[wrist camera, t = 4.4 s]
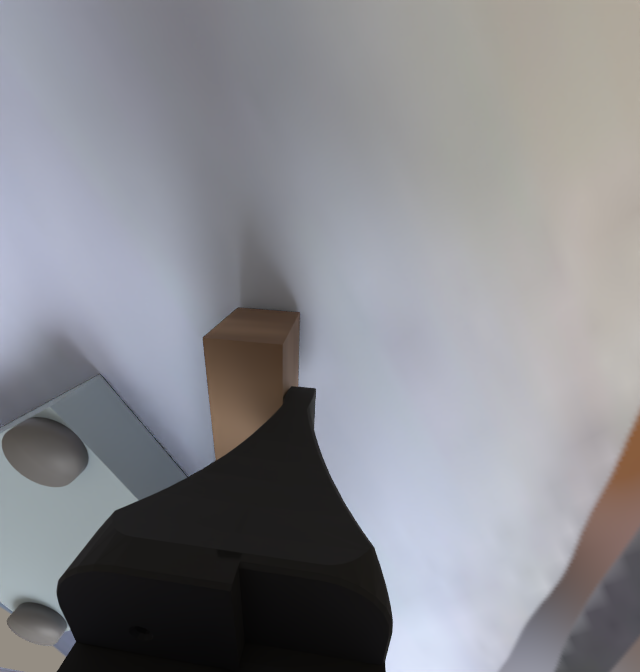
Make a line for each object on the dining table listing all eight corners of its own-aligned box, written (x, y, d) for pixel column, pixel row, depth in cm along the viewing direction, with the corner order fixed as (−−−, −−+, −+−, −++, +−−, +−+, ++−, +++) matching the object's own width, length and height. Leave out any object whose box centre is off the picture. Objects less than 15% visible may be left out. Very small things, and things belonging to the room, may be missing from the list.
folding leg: (294, 556, 17) (282, 622, 15) (251, 550, 17) (232, 614, 15) (299, 312, 12) (282, 344, 9) (238, 307, 12) (202, 337, 9)
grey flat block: (243, 543, 18) (222, 608, 15) (78, 589, 21) (35, 648, 19) (99, 374, 14) (35, 416, 11) (-68, 464, 18) (-148, 513, 15)
